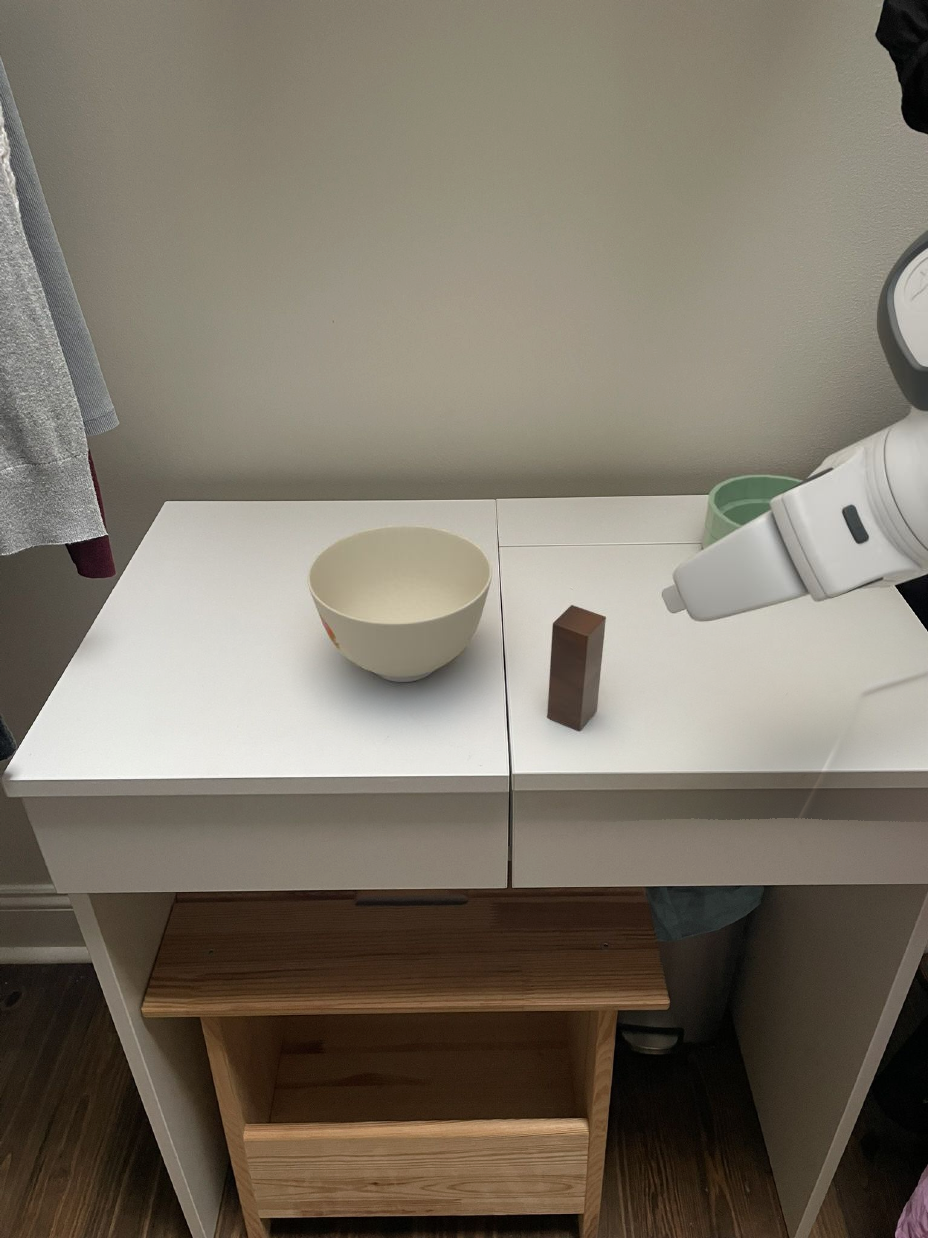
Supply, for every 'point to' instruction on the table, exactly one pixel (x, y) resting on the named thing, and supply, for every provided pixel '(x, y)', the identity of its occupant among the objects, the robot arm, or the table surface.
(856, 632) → the table surface
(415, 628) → the bowl
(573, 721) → the block
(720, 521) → the dish
